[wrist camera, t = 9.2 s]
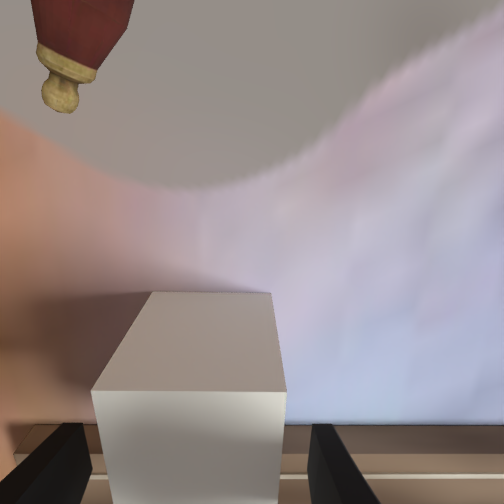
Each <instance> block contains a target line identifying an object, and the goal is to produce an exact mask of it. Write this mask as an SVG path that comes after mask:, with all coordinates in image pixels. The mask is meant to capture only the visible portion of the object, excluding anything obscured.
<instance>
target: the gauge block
mask: <svg viewBox="0 0 504 504" xmlns="http://www.w3.org/2000/svg"><path fill="white" fill-rule="evenodd" d="M91 395H92V400H93V405H94V410H95V415H96V420H97V425H98V430H99V435H100V440H101V445H102V450H103V455H104V460H105V465H106V470H107V475H108V480H109V485H110V490H111V495H112V500H113V504H278V493H279V481H280V469H281V457H282V445H283V433H284V421H285V409H286V397H287V389H286V383H285V377H284V371H283V365H282V358H281V352H280V346H279V340H278V333H277V327H276V321H275V315H274V309H273V302H272V296H271V293H224V292H158V291H153V292H152V294H151V295H150V297H149V298H148V300H147V302H146V303H145V305H144V306H143V308H142V309H141V311H140V313H139V314H138V316H137V317H136V319H135V321H134V322H133V324H132V325H131V327H130V329H129V330H128V332H127V333H126V335H125V337H124V338H123V340H122V341H121V343H120V345H119V346H118V348H117V349H116V351H115V353H114V354H113V356H112V357H111V359H110V361H109V362H108V364H107V365H106V367H105V369H104V370H103V372H102V373H101V375H100V377H99V378H98V380H97V381H96V383H95V385H94V386H93V388H92V389H91Z"/></svg>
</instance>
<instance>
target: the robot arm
mask: <svg viewBox="0 0 504 504" xmlns="http://www.w3.org/2000/svg"><path fill="white" fill-rule="evenodd" d="M92 470H93V467H92V463H91V458H90V454H89V449H88V445H87V440H86V436H85V431H84V426H83V423H62V424H61V425H60V426H59V427H58V428H57V429H56V430H55V431H54V432H53V433H51V434H50V435H49V436H48V437H47V438H46V439H45V440H44V441H43V442H42V443H41V444H40V445H39V446H38V447H37V448H36V449H35V450H34V451H33V452H32V453H30V454H29V455H28V456H27V457H26V458H25V459H24V460H23V461H22V462H21V463H20V464H19V465H18V466H17V467H16V468H15V469H14V470H13V471H11V472H10V473H9V474H8V475H7V476H6V477H5V478H4V479H3V480H2V481H1V482H0V504H80V503H81V501H82V498H83V495H84V493H85V490H86V487H87V484H88V481H89V479H90V476H91V473H92ZM307 474H308V482H309V490H310V497H311V504H381V503H380V501H379V500H378V498H377V497H376V495H375V494H374V492H373V490H372V489H371V487H370V486H369V484H368V483H367V481H366V480H365V478H364V477H363V475H362V473H361V472H360V470H359V469H358V467H357V465H356V464H355V462H354V460H353V459H352V457H351V455H350V454H349V452H348V450H347V449H346V447H345V445H344V443H343V442H342V440H341V438H340V436H339V434H338V433H337V431H336V429H335V427H334V426H333V425H332V424H312V430H311V438H310V447H309V455H308V463H307Z"/></svg>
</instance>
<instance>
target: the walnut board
mask: <svg viewBox="0 0 504 504" xmlns="http://www.w3.org/2000/svg"><path fill="white" fill-rule="evenodd" d="M59 426H60V425H34V427H33V428H32V429H31V431H30V432H29V434H28V435H27V436H26V438H25V439H24V440H23V442H22V443H21V444H20V446H19V447H18V448H17V450H16V451H15V452H14V454H13V455H14V458H15V461H16V463H17V466H18V465H19V464H20V463H21V462H22V461H23V460H24V459H25V458H26V457H27V456H28V455H29V454H30V453H32V452H33V451H34V450H35V449H36V448H37V447H38V446H39V445H40V444H41V443H42V442H43V441H44V440H45V439H46V438H47V437H48V436H49V435H50V434H51V433H53V432H54V431H55V430H56V429H57V428H58V427H59ZM83 426H84V431H85V436H86V440H87V445H88V449H89V454H90V458H91V463H92V467H93V470H92V473H91V476H90V479H89V481H88V484H87V487H86V490H85V493H84V495H83V498H82V501H81V503H80V504H113V500H112V495H111V490H110V485H109V480H108V475H107V470H106V465H105V460H104V455H103V450H102V445H101V440H100V435H99V430H98V425H83ZM334 427H335V429H336V431H337V433H338V434H339V436H340V438H341V440H342V442H343V443H344V445H345V447H346V449H347V450H348V452H349V454H350V455H351V457H352V459H353V460H354V462H355V464H356V465H357V467H358V469H359V470H360V472H361V473H362V475H363V477H364V478H365V480H366V481H367V483H368V484H369V486H370V487H371V489H372V490H373V492H374V494H375V495H376V497H377V498H378V500H379V501H380V503H381V504H504V426H334ZM311 430H312V425H284V433H283V445H282V457H281V469H280V481H279V493H278V504H311V497H310V490H309V482H308V474H307V463H308V455H309V447H310V438H311Z"/></svg>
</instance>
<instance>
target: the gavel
mask: <svg viewBox="0 0 504 504" xmlns="http://www.w3.org/2000/svg"><path fill="white" fill-rule="evenodd" d="M31 4H32V10H33V16H34V22H35V27H36V34H37V40H38V44H37V50H36V54H37V56H38V59H39V61H40V62H41V63H42V64H43V65H44V66H45V67H46V68H47V69H48V70H49V71H50V74H49V78H48V79H47V80H46V81H45V82H44V84H43V86H42V90H41V91H42V98H43V100H44V103H45V104H46V105H47V106H49V107H50V108H52V109H54V110H55V111H57V112H61V113H69V114H70V113H72V112H73V111H75V109H76V107H77V106H78V103H79V95H78V91H77V88H78V84H84V83H91V82H92V81H94V80H95V77H96V73H97V70H98V68H99V67H100V66H101V64H102V63H103V61H104V60H105V58H106V57H107V56H108V54H109V53H110V51H111V50H112V49H113V47H114V46H115V44H116V43H117V42H118V40H119V39H120V38H121V36H122V35H123V33H124V32H125V31H126V29H127V26H128V22H129V18H130V14H131V11H132V8H133V4H134V0H31Z"/></svg>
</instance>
